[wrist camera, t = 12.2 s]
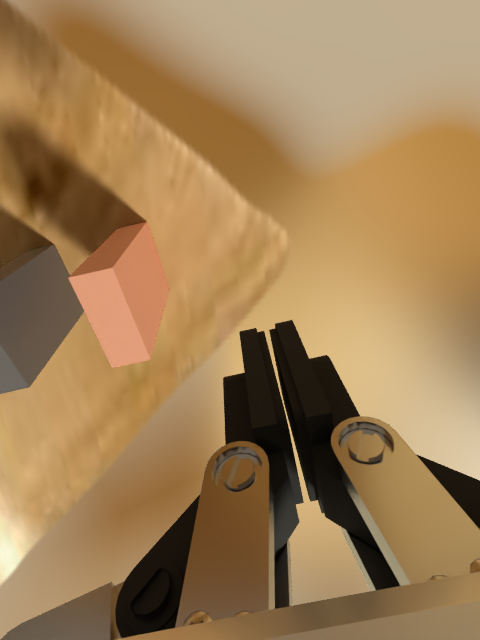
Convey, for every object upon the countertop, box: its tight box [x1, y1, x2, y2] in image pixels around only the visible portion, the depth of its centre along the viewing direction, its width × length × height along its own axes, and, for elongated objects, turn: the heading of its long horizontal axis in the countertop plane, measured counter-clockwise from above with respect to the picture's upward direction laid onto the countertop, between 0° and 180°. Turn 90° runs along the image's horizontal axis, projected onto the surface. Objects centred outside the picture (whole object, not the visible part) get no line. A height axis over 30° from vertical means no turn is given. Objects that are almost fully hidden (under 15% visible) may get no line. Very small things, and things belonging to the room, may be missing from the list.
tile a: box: [0, 244, 84, 394], centre depth 20 cm, size 5×2×9 cm, turn 12°
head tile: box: [68, 222, 169, 368], centre depth 20 cm, size 5×2×9 cm, turn 12°
